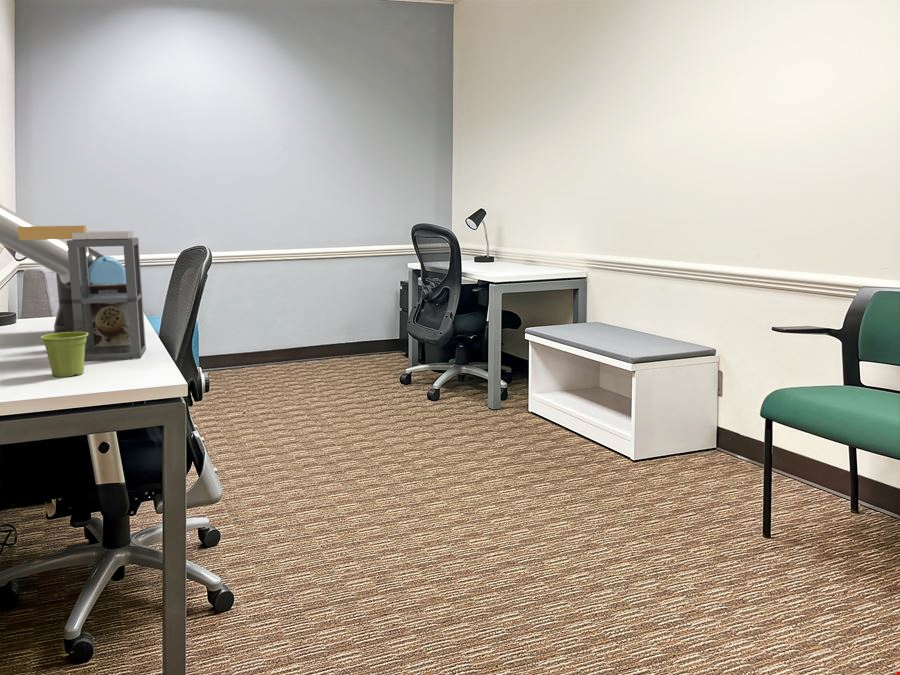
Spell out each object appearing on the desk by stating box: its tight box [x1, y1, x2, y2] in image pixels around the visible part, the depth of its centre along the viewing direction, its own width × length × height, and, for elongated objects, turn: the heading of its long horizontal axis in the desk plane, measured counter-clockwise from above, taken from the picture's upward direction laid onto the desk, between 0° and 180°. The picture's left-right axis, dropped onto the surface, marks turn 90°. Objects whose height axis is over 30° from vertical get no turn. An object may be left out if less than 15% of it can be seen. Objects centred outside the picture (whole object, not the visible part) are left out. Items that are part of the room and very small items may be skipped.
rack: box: [65, 237, 147, 362], centre depth 199 cm, size 12×14×28 cm
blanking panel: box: [18, 225, 134, 240], centre depth 196 cm, size 10×24×3 cm, turn 104°
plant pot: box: [39, 332, 88, 378], centre depth 179 cm, size 9×9×9 cm
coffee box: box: [90, 284, 131, 346], centre depth 213 cm, size 9×6×16 cm
